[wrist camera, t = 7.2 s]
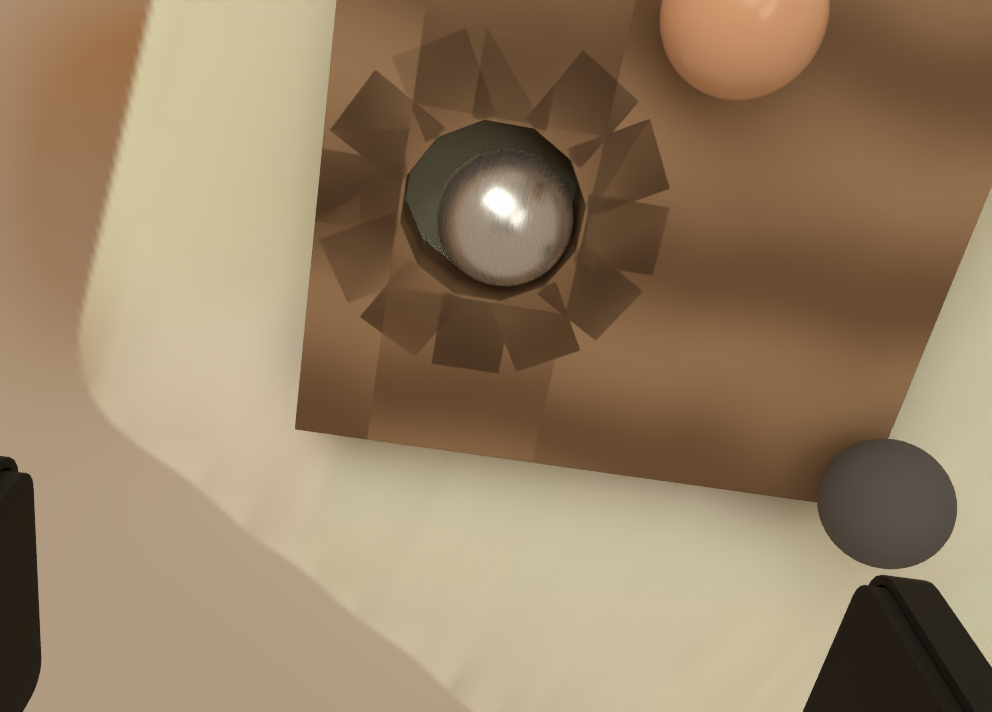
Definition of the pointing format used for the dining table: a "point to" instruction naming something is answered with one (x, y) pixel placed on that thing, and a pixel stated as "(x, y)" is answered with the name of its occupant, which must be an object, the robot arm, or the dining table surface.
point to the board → (648, 239)
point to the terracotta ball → (741, 43)
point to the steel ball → (505, 217)
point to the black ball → (887, 503)
